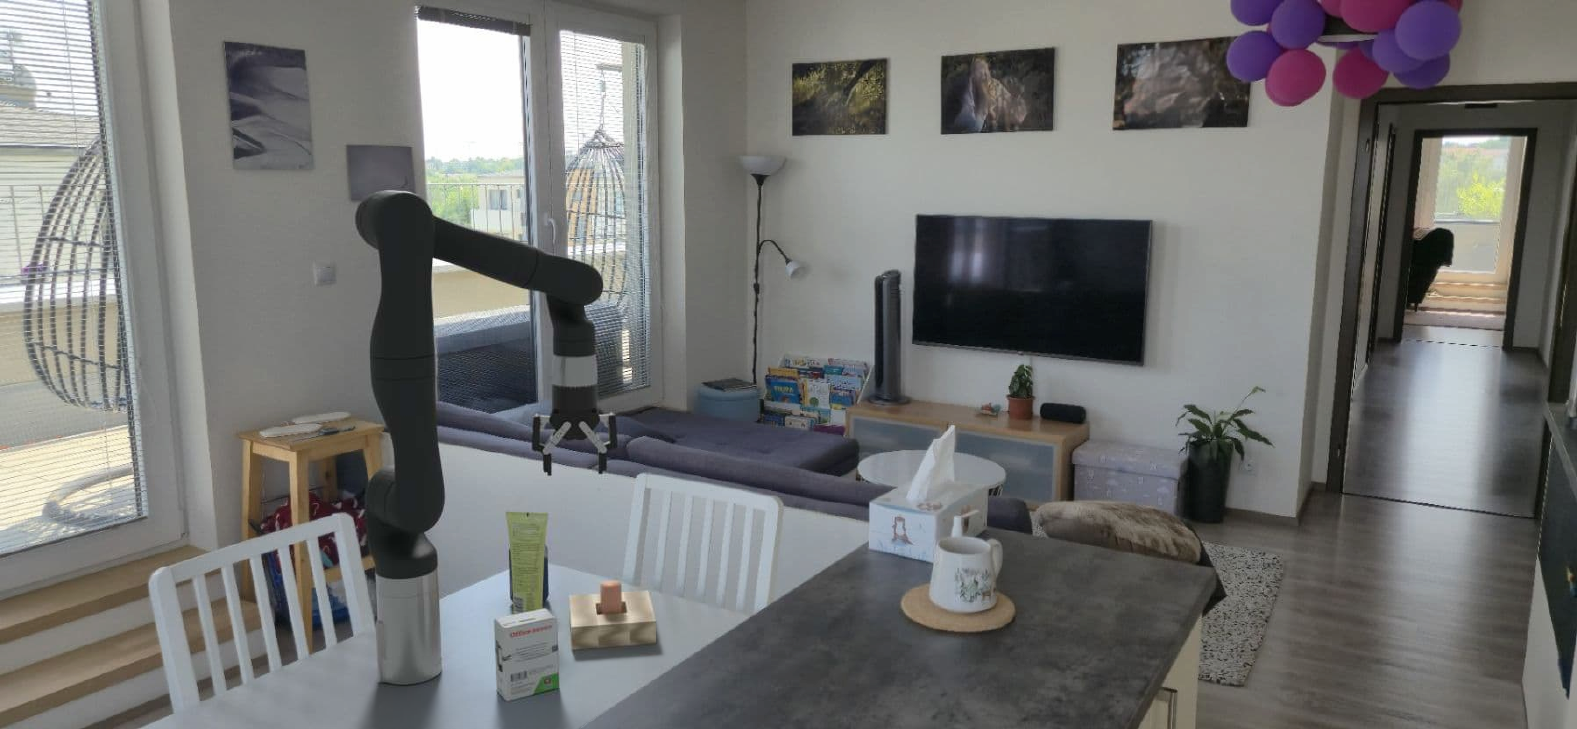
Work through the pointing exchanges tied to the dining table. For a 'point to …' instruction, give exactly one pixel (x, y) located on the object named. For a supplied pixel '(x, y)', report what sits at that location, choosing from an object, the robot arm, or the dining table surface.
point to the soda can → (545, 576)
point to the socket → (611, 621)
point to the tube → (527, 558)
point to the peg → (611, 597)
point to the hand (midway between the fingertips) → (574, 473)
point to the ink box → (526, 654)
